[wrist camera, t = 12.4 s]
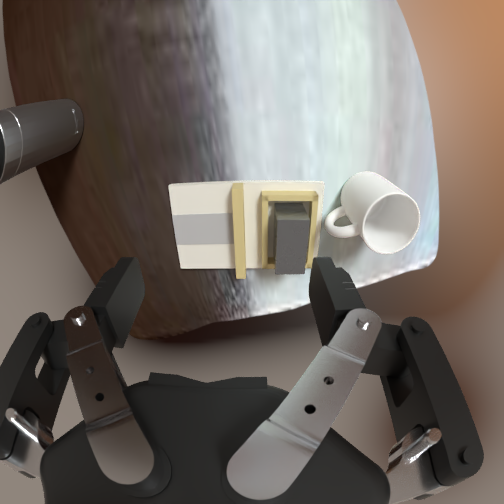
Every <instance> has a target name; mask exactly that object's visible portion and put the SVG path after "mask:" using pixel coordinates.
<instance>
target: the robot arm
mask: <svg viewBox="0 0 504 504" xmlns="http://www.w3.org/2000/svg"><path fill="white" fill-rule="evenodd" d="M83 126H84V120H83V114H82V112H81V109H80V108H79V106H78V105H77V104H76V103H75V102H74V101H72V100H70V99H59V100H51V101H43V102H37V103H31V104H26V105H21V106H16V107H11V108H7V109H2V110H0V184H2V183H3V182H5V181H7V180H9V179H11V178H12V177H14V176H16V175H18V174H20V173H22V172H24V171H26V170H28V169H30V168H32V167H35V166H37V165H39V164H41V163H43V162H46V161H48V160H50V159H52V158H55V157H57V156H60V155H62V154H64V153H67V152H69V151H71V150H72V149H73V148H74V147H75V146H76V145H77V144H78V142H79V140H80V138H81V136H82V133H83ZM144 294H145V285H144V281H143V277H142V273H141V269H140V265H139V261H138V259H137V258H136V257H122V258H120V260H119V261H118V263H117V264H116V266H115V267H114V268H111V269H109V270H108V271H107V272H106V273H104V275H103V276H102V277H101V279H100V281H99V282H98V284H97V285H96V288H94V290H93V291H92V293H91V295H90V296H89V298H88V299H87V301H86V302H85V304H84V306H78V307H75V308H73V309H71V310H70V311H69V312H68V313H67V314H66V315H65V317H64V320H58V321H50V319H49V317H48V315H47V314H46V313H43V312H39V313H36V314H34V315H32V316H30V317H29V318H28V319H27V321H26V322H25V324H24V325H23V327H22V329H21V330H20V332H19V333H18V335H17V337H16V339H15V341H14V342H13V344H12V346H11V347H10V349H9V351H8V353H7V355H6V357H5V359H4V360H3V363H2V364H1V366H0V461H1V462H2V463H4V464H5V465H7V466H9V467H10V468H12V469H13V470H15V471H18V472H20V473H22V474H23V475H25V476H27V477H29V478H36V477H37V478H39V479H41V481H42V485H43V490H44V498H45V504H396V503H400V502H403V501H406V500H409V499H412V498H413V499H417V500H421V499H425V498H427V497H430V496H432V495H434V494H437V493H439V492H441V491H443V490H446V489H448V488H450V487H452V486H454V485H456V484H458V483H460V482H462V481H464V480H465V479H467V478H469V477H471V476H473V475H474V474H476V473H477V472H478V470H479V469H480V467H481V465H482V463H483V458H484V453H483V449H482V445H481V442H480V439H479V436H478V433H477V430H476V427H475V424H474V421H473V419H472V416H471V413H470V411H469V408H468V405H467V403H466V401H465V398H464V396H463V393H462V391H461V388H460V386H459V384H458V381H457V379H456V377H455V375H454V373H453V370H452V368H451V366H450V364H449V362H448V360H447V358H446V356H445V354H444V351H443V349H442V347H441V346H440V344H439V342H438V340H437V338H436V336H435V334H434V332H433V330H432V328H431V327H430V325H429V324H428V323H427V322H426V321H424V320H423V319H421V318H418V317H408V318H406V319H404V320H403V321H402V323H401V326H398V325H391V324H385V323H382V322H381V319H380V318H379V317H378V315H377V314H375V313H374V312H372V311H370V310H367V309H366V307H365V305H364V303H363V301H362V299H361V297H360V295H359V293H358V291H357V289H356V287H355V285H354V283H353V281H352V279H351V277H350V275H349V274H348V273H347V272H346V271H345V270H344V269H342V268H336V267H335V265H334V263H333V261H332V259H331V257H314V258H313V262H312V269H311V276H310V283H309V298H310V302H311V305H312V309H313V312H314V316H315V320H316V324H317V327H318V331H319V335H320V339H321V343H322V346H323V347H322V349H321V350H320V352H319V353H318V354H317V356H316V357H315V359H314V360H313V362H312V363H311V364H310V366H309V367H308V369H307V370H306V372H305V373H304V374H303V376H302V377H301V379H300V380H299V381H298V383H297V384H296V385H295V387H294V388H293V389H292V390H291V392H290V393H289V392H287V391H285V390H283V389H280V388H277V387H274V386H269V385H267V377H236V378H231V379H226V380H221V381H215V382H209V383H204V382H200V381H197V380H193V379H189V378H186V377H183V376H179V375H173V374H172V375H171V374H162V373H152V372H151V373H150V376H149V380H148V381H143V382H139V383H136V384H133V385H131V386H127V384H126V382H125V380H124V378H123V376H122V373H121V372H120V369H119V367H118V364H117V362H116V360H115V358H114V355H113V353H112V350H113V347H117V348H123V347H124V344H125V342H126V339H127V337H128V334H129V332H130V329H131V327H132V324H133V322H134V319H135V317H136V315H137V312H138V310H139V307H140V305H141V303H142V300H143V298H144ZM40 357H42V358H43V359H44V361H45V362H44V365H43V367H42V369H41V371H40V374H39V376H38V378H36V376H35V368H36V365H37V363H38V361H39V359H40ZM360 373H366V374H373V375H380V378H381V382H382V385H383V388H384V392H385V396H386V399H387V403H388V407H389V411H390V415H391V418H392V422H393V427H394V431H395V435H396V440H397V443H396V444H395V445H394V446H393V447H392V449H391V451H390V453H389V465H388V469H387V471H386V473H385V472H383V470H382V469H381V468H380V467H379V466H378V465H377V464H376V463H374V462H373V461H372V460H370V459H369V458H368V457H367V456H365V455H364V454H363V453H361V452H360V451H359V450H358V449H357V448H355V447H354V446H353V445H352V444H350V443H349V442H348V441H347V440H346V439H344V438H343V437H342V436H341V435H339V434H338V433H337V432H336V431H335V430H334V429H332V428H331V426H332V424H333V422H334V421H335V419H336V417H337V415H338V414H339V412H340V410H341V409H342V407H343V405H344V403H345V401H346V400H347V398H348V396H349V394H350V392H351V390H352V388H353V387H354V384H355V383H356V381H357V379H358V377H359V375H360ZM70 375H71V378H72V382H73V386H74V389H75V393H76V396H77V399H78V403H79V406H80V409H81V412H82V415H83V418H84V420H83V421H81V422H80V423H79V424H77V425H76V426H75V427H74V428H72V429H71V430H70V431H68V432H67V433H65V434H64V435H63V436H61V437H60V438H59V439H57V440H56V441H55V442H54V437H53V433H52V428H53V425H54V421H55V418H56V415H57V412H58V408H59V405H60V402H61V399H62V396H63V393H64V390H65V388H66V385H67V382H68V380H69V377H70Z"/></svg>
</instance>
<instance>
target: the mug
mask: <svg viewBox="0 0 504 504" xmlns="http://www.w3.org/2000/svg"><path fill="white" fill-rule="evenodd" d="M340 200H341V207H338V208H336V209H335V210H333V211H332V212H330V213H329V214H328V215H327V217H326V219H325V222H324V227H325V229H326V231H327V232H328V233H329V234H330V235H332V236H334V237H338V238H348V237H354V236H357V235H360V236H361V237H362V239H363V240H364V242H365V243H366V245H367V246H368V247H369V248H370V249H371V250H372V251H374V252H377V253H380V254H392V253H396V252H398V251H400V250H402V249H403V248H405V247H406V246H407V245H408V244H409V243H410V242H411V241H412V240H413V238H414V237H415V235H416V233H417V231H418V228H419V224H420V212H419V208H418V206H417V204H416V202H415V201H414V200H413V199H412V198H411V197H410V196H409V195H407V194H406V193H405V192H403V191H402V190H401V189H399V188H398V187H396V186H395V185H394V184H392V183H391V182H389V181H388V180H387V179H385V178H384V177H382V176H381V175H379V174H377V173H374V172H369V171H364V172H359V173H357V174H355V175H353V176H352V177H350V178H349V179H348V180H347V182H346V183H345V185H344V186H343V189H342V192H341V199H340ZM345 215H346V216H347V217H348V219H349V220H350V222H351V223H352V224H351V225H348V226H344V227H337V226H335V225H334V222H335V221H336V220H337V219H338V218H340V217H343V216H345Z"/></svg>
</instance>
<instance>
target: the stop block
mask: <svg viewBox="0 0 504 504" xmlns="http://www.w3.org/2000/svg"><path fill="white" fill-rule="evenodd" d="M309 225H310V219H309V217H308V215H307V212H306V210H305V208H304V205H303V203H274V239H273V255H274V265H275V274H305V266H306V256H307V246H308V236H309Z"/></svg>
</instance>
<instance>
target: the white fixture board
mask: <svg viewBox="0 0 504 504" xmlns="http://www.w3.org/2000/svg"><path fill="white" fill-rule="evenodd" d="M168 187H169V195H170V202H171V210H172V218H173V225H174V231H175V238H176V244H177V249H178V255H179V260H180V266H181V269H211V268H236V279H246V268H262V269H275V265H274V255H273V239H274V203H303V205H304V208H305V210H306V212H307V215H308V217H309V219H310V225H309V236H308V246H307V256H306V266H305V268H312V262H313V258H314V257H318V248H319V239H320V229H321V219H322V208H323V196H324V182H323V181H288V180H258V181H217V182H195V183H178V184H170V185H169V186H168Z"/></svg>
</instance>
